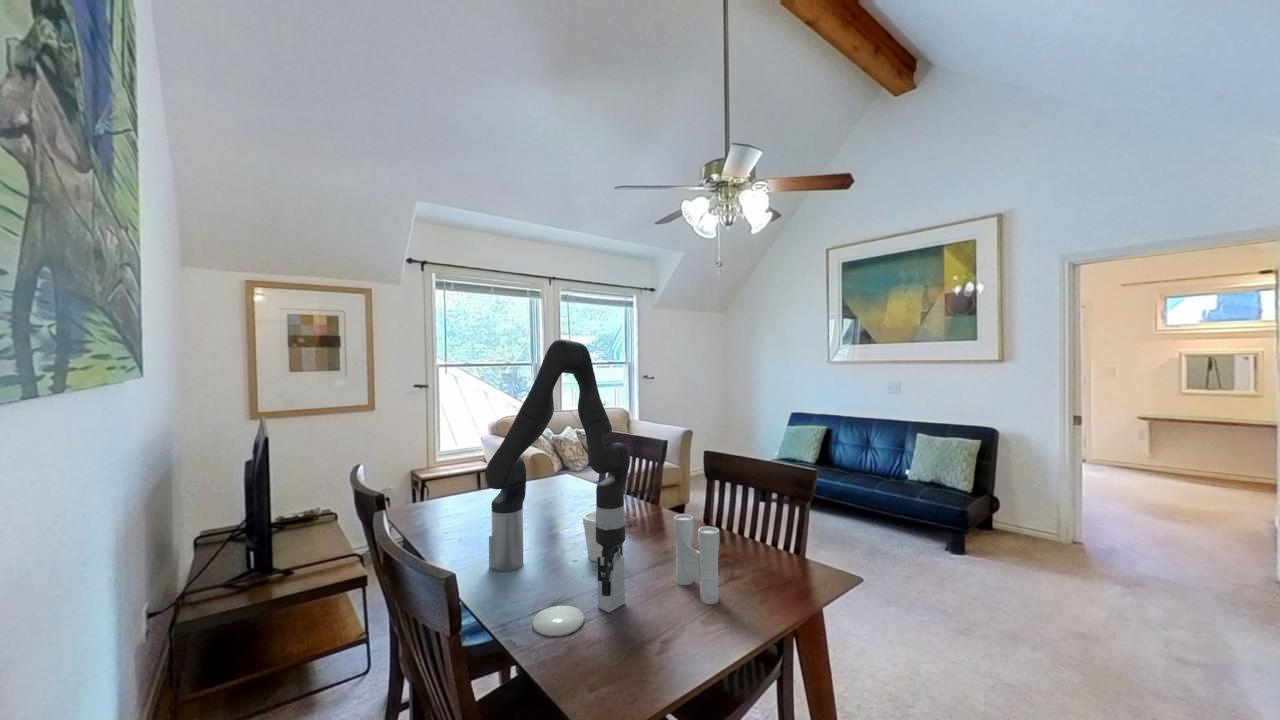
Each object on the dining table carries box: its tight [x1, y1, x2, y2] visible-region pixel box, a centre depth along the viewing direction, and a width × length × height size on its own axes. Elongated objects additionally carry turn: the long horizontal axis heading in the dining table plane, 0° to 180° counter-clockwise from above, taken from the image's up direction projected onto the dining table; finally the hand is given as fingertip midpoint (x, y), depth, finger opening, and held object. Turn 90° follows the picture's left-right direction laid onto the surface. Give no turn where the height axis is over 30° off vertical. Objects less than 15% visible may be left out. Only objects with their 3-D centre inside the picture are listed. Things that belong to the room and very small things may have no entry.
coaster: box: [532, 605, 585, 637], centre depth 113 cm, size 12×12×1 cm
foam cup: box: [582, 511, 603, 562], centre depth 150 cm, size 10×9×13 cm
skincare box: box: [596, 555, 626, 613], centre depth 120 cm, size 6×4×12 cm
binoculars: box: [673, 513, 720, 605], centre depth 128 cm, size 17×5×18 cm, turn 28°
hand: (611, 588), depth 120 cm, fingers closed on skincare box, 7 cm apart
